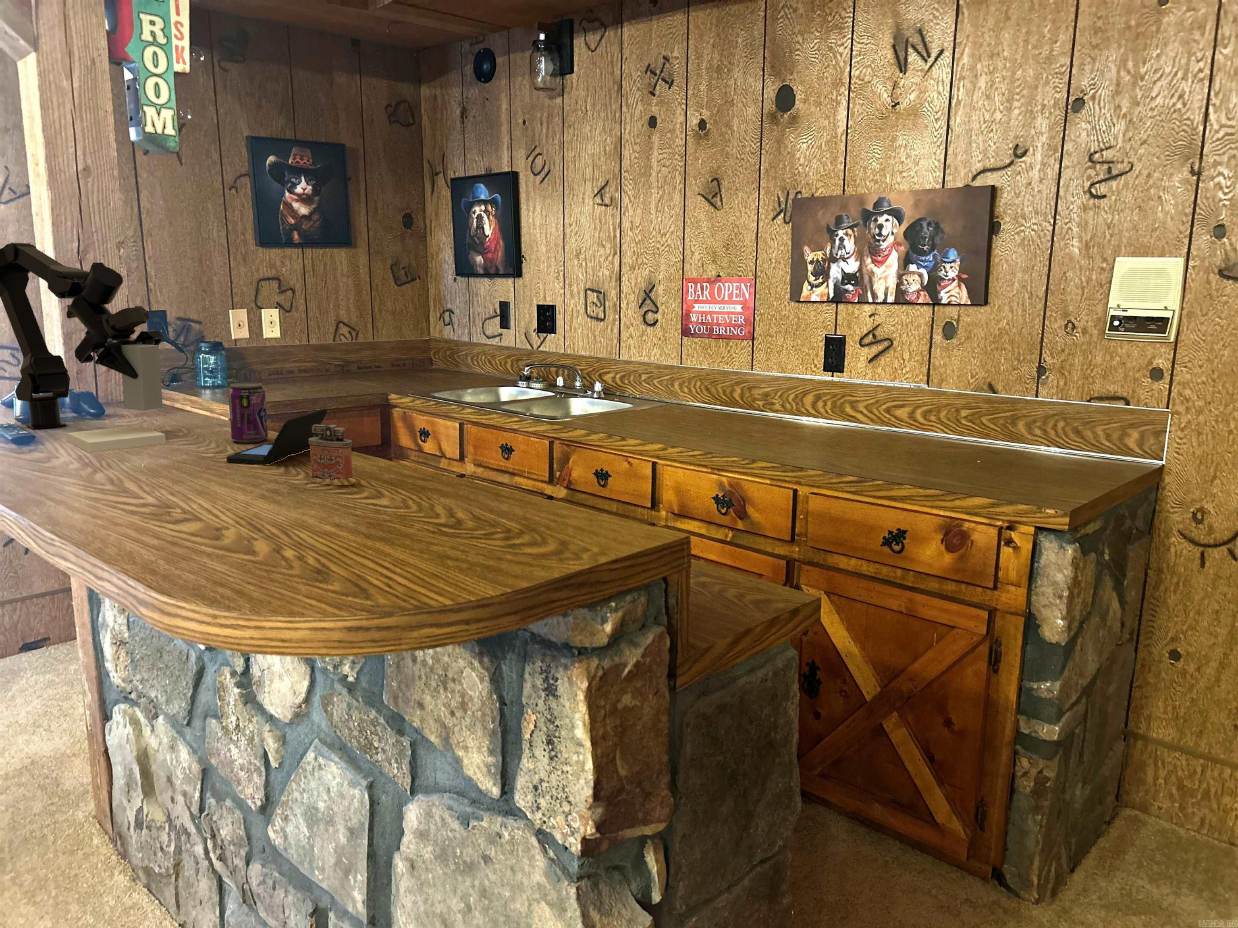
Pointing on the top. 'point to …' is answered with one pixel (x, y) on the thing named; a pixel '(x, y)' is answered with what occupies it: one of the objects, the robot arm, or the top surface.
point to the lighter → (330, 453)
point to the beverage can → (248, 412)
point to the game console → (282, 441)
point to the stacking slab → (115, 438)
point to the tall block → (142, 378)
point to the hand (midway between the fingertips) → (146, 376)
